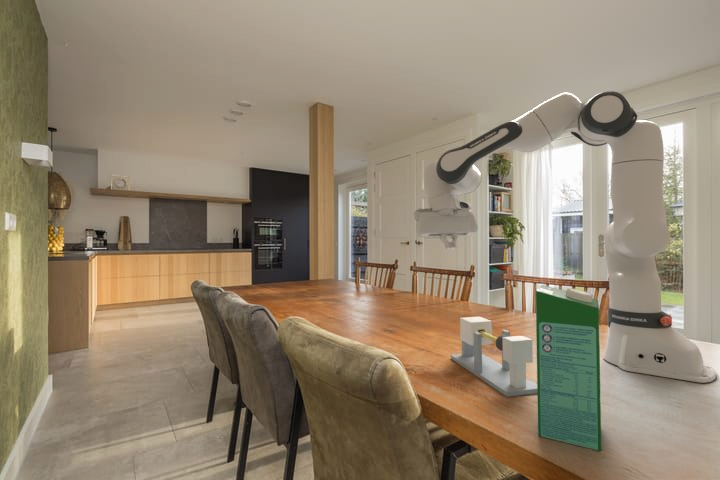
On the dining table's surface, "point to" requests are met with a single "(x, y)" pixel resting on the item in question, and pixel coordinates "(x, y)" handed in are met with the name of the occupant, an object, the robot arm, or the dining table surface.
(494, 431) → the dining table surface
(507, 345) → the bearing mount fixture
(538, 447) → the dining table surface
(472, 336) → the sleeve
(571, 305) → the milk carton
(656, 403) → the dining table surface
